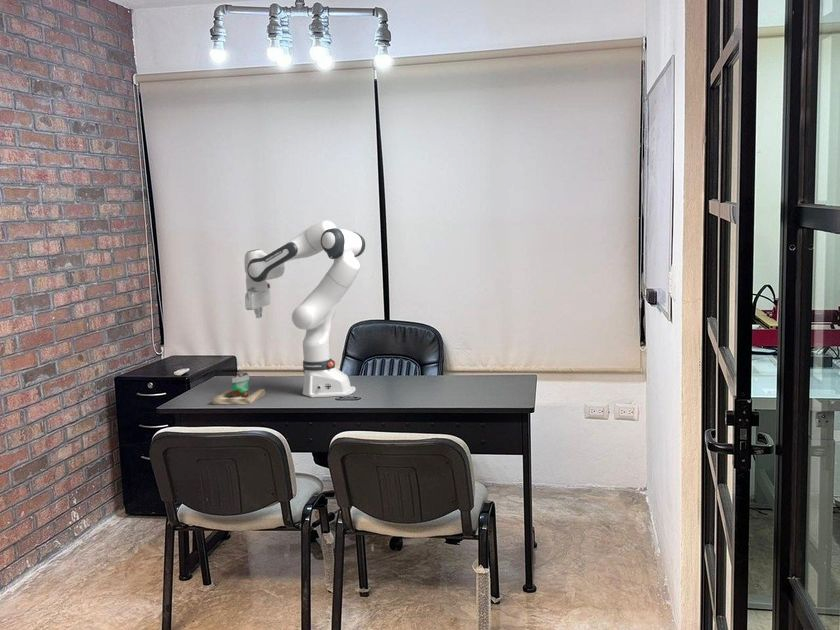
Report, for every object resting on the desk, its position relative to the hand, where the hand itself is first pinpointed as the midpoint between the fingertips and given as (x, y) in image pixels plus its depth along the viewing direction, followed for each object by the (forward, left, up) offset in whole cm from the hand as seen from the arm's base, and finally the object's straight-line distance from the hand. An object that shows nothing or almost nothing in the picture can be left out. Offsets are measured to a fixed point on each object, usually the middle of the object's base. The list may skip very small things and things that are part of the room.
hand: (259, 317), depth 361 cm
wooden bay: (+1, +25, -31) cm, 40 cm away
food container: (+1, +22, -31) cm, 38 cm away
